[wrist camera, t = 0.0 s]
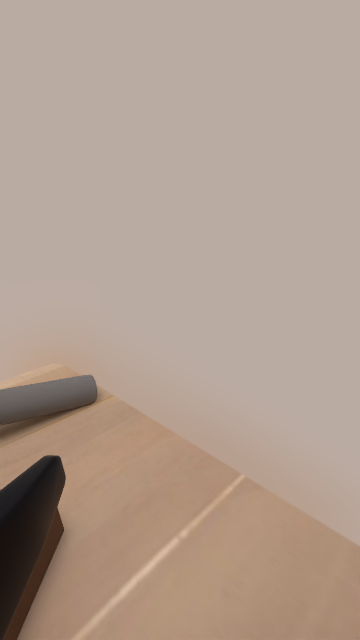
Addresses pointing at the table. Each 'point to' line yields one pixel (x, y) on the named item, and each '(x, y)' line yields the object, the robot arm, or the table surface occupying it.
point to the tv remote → (46, 398)
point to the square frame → (36, 577)
